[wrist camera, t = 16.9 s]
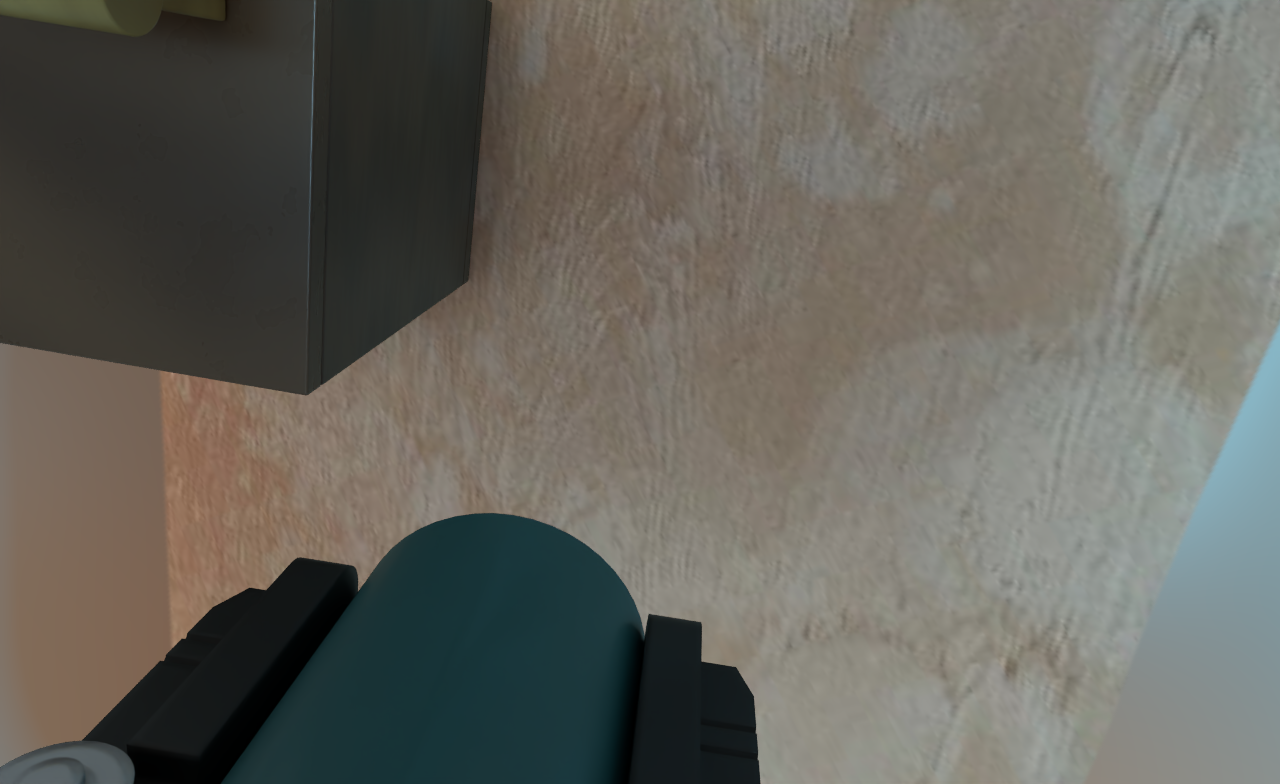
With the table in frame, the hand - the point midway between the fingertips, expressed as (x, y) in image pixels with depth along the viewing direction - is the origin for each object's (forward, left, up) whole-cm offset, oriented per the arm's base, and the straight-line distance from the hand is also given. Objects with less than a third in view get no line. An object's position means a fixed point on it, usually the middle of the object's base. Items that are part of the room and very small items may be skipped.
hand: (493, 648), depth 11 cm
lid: (+1, -12, -10) cm, 16 cm away
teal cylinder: (0, 0, 0) cm, 0 cm away
